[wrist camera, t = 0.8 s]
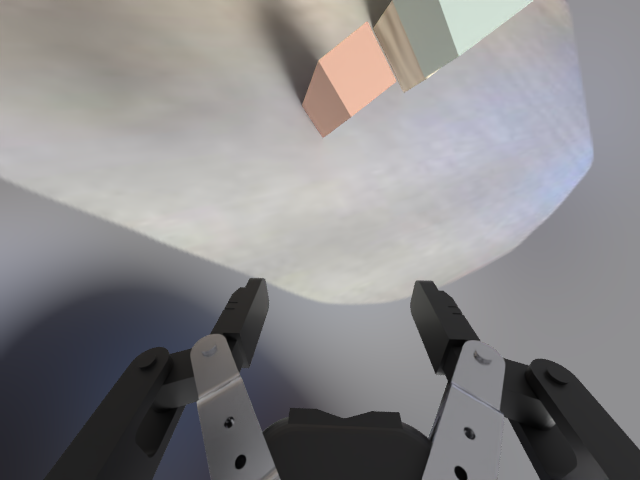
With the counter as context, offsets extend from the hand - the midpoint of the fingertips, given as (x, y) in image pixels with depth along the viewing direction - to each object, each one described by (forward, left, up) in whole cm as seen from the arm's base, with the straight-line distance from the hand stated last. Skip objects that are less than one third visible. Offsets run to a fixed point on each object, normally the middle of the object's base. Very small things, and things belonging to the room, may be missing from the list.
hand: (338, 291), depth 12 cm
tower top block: (+5, +26, -16) cm, 31 cm away
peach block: (-2, +14, -21) cm, 25 cm away
